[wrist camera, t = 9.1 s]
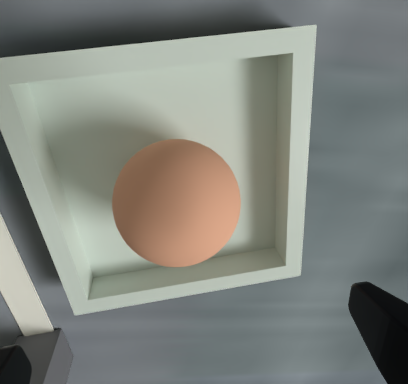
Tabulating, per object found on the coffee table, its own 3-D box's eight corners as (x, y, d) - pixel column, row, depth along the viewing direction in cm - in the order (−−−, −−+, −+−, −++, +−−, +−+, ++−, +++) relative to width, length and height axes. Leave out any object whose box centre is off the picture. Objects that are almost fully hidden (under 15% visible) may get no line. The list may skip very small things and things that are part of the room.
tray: (285, 251, 22) (300, 275, 19) (83, 285, 20) (74, 315, 18) (293, 27, 15) (316, 24, 13) (1, 57, 14) (-28, 60, 12)
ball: (228, 215, 19) (258, 282, 14) (130, 231, 18) (122, 308, 13) (221, 118, 16) (257, 154, 11) (106, 133, 16) (84, 179, 10)
